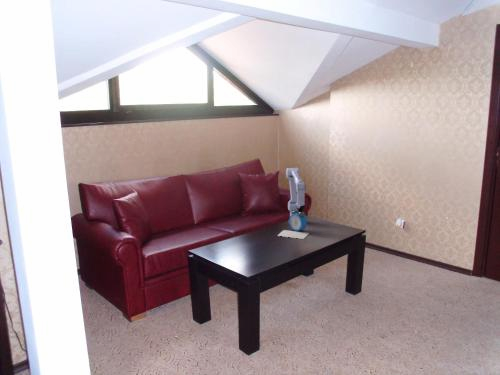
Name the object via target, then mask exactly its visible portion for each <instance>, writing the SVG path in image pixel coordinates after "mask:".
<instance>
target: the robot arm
mask: <svg viewBox="0 0 500 375" xmlns="http://www.w3.org/2000/svg"><path fill="white" fill-rule="evenodd" d="M285 175H286V179H288V182H289V190H290V191H289V192H290V193H289V194H290V200H289V201H288V202H287V209H288V211H289V217H290V216H291V215H292V212H293V211H295V210H296V211H298V213H299V212H304V209H305V207H306V205H305V191H306V189H307V188H306V187H307V186H306V182H304V181H303V179H302V178H301V177H300V168H299V167H290V168H289V167H286V169H285Z"/></svg>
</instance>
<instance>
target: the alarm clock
mask: <svg viewBox="0 0 500 375" xmlns="http://www.w3.org/2000/svg"><path fill="white" fill-rule="evenodd" d="M305 214H306V213H305V212H304V211H303V212H299V213H298V211H296V210H295V211H293V212H292V215H291V216H290V215H289V219H288V224H289V226H290V228H291V231H296V232H301V231H302V230H305V229H306V227H307V226H308V225H307V224H308V221H307V218H306V216H305Z"/></svg>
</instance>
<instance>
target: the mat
mask: <svg viewBox="0 0 500 375" xmlns="http://www.w3.org/2000/svg"><path fill="white" fill-rule="evenodd" d="M308 235H310V232H305V231H304V232H302V231H300V232H299V231H295V230H287V229H283V230H281V231H280V232H279V233H278V234H277V237H280V236H282V238H288V237H290V238H289V239H296V238H298V240H305V238H307V236H308Z"/></svg>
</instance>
